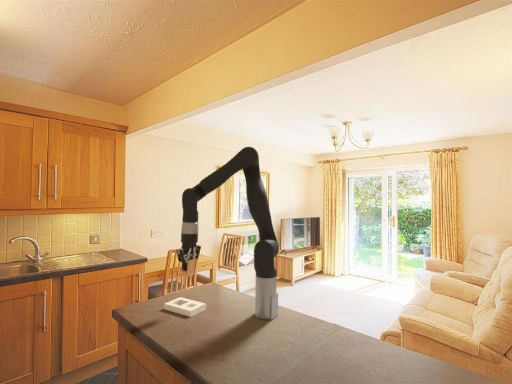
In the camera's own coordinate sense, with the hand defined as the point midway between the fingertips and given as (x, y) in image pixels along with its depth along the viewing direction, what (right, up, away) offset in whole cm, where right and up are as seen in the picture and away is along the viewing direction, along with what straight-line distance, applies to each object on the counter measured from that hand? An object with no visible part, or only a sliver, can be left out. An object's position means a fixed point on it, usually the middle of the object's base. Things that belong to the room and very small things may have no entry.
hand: (188, 269), depth 127 cm
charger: (0, -2, 0) cm, 2 cm away
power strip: (-1, -18, 0) cm, 18 cm away
